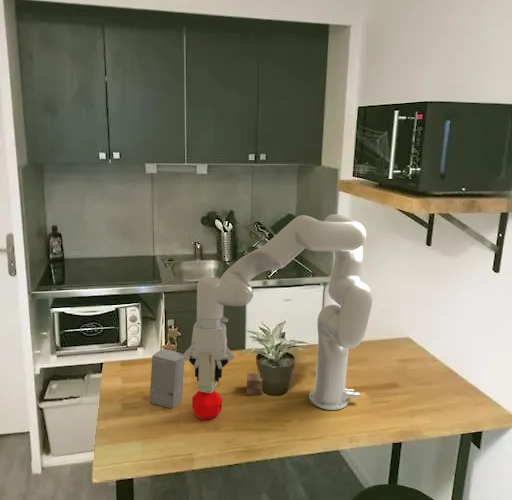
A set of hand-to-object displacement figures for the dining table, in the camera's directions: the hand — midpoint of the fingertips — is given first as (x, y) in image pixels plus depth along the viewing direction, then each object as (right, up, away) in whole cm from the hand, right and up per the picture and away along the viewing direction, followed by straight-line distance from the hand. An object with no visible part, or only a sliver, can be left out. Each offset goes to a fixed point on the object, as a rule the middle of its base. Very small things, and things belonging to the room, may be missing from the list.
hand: (208, 378), depth 154 cm
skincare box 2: (0, -3, +1) cm, 3 cm away
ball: (-1, -12, +3) cm, 12 cm away
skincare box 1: (-14, -10, +9) cm, 19 cm away
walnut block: (+13, -9, +18) cm, 24 cm away
